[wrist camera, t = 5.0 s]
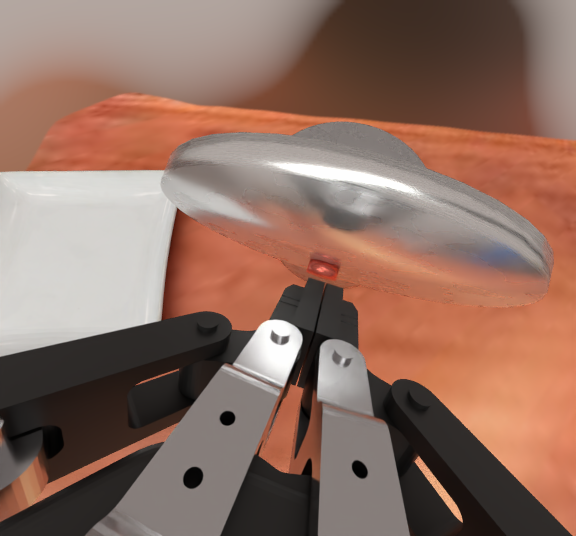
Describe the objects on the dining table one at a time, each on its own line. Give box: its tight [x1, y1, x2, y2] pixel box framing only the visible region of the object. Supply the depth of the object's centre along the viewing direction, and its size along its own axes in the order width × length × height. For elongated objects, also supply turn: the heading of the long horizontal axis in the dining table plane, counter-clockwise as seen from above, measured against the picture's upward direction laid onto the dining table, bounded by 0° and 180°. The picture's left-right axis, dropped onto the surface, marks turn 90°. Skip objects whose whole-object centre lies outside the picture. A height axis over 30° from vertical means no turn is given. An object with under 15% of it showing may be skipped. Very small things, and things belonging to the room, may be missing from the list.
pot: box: [280, 122, 426, 288], centre depth 36 cm, size 20×26×9 cm
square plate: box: [0, 170, 177, 357], centre depth 36 cm, size 27×27×4 cm
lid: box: [160, 132, 554, 307], centre depth 18 cm, size 22×21×2 cm
